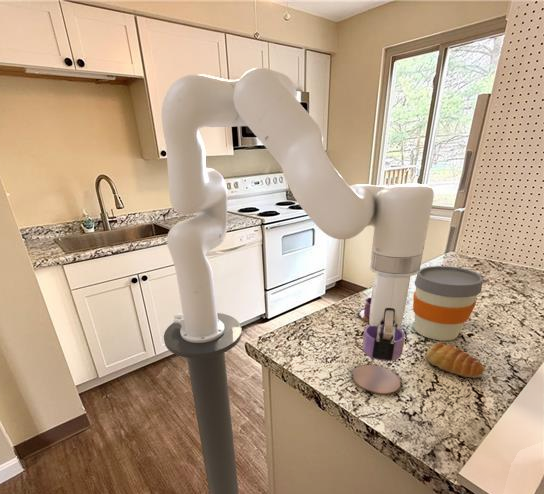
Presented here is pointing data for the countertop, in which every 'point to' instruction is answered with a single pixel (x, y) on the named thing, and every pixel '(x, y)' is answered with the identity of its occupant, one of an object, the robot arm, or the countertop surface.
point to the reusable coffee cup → (444, 300)
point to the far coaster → (363, 316)
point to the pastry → (454, 360)
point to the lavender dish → (371, 335)
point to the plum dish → (367, 307)
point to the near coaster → (376, 379)
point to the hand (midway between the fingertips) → (381, 346)
